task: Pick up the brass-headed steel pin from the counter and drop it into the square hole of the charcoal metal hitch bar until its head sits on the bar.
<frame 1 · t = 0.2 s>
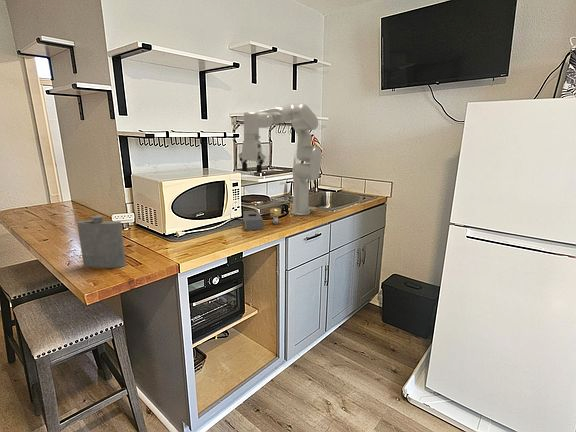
hand: (251, 171, 170), 30 cm above the worktop, tool pointing down, fingers open, 9 cm apart
pin: (275, 223, 187), on the worktop
hip flask: (104, 266, 127), on the worktop
hitch bar: (252, 224, 185), on the worktop
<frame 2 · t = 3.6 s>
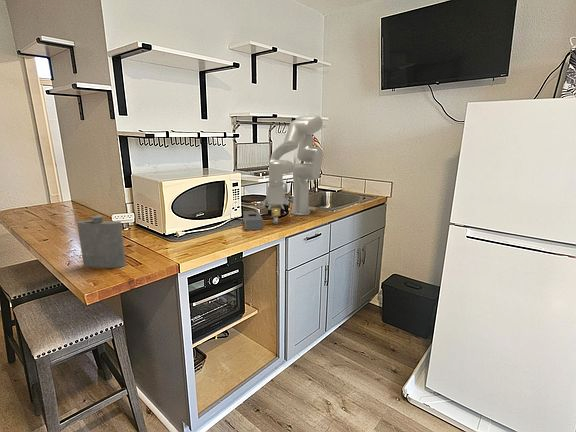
hand: (275, 215, 186), 5 cm above the worktop, tool pointing down, fingers closed on pin, 6 cm apart
pin: (275, 223, 187), on the worktop, touching gripper
everything else where it was.
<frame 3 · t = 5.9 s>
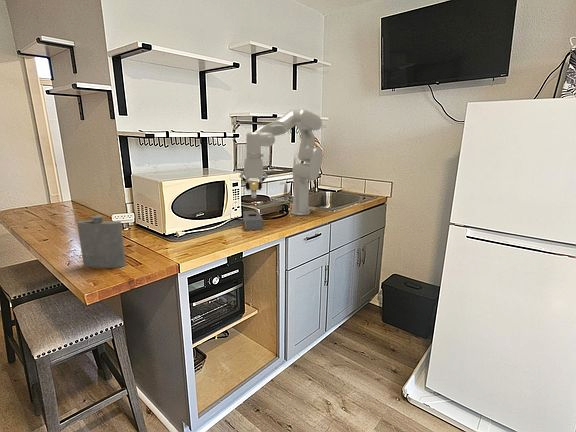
hand: (253, 189, 180), 20 cm above the worktop, tool pointing down, fingers closed on pin, 6 cm apart
pin: (253, 198, 181), point 15 cm above the worktop, touching gripper
everything else where it was.
when the fingers open (7 cm above the worktop, at t = 8.5 s): pin drops 1 cm, resting on hitch bar.
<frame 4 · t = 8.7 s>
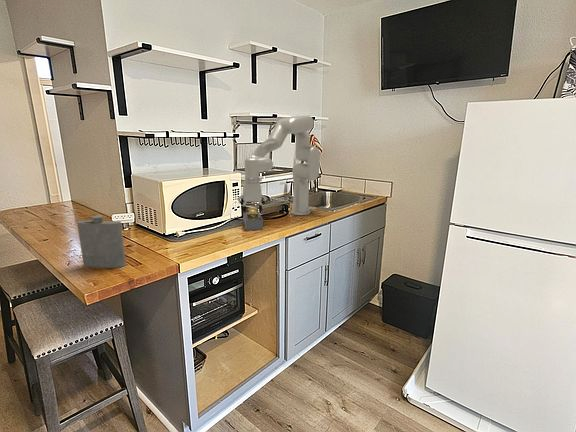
hand: (252, 212, 183), 7 cm above the worktop, tool pointing down, fingers open, 7 cm apart
pin: (252, 223, 185), resting on hitch bar
everything else where it was.
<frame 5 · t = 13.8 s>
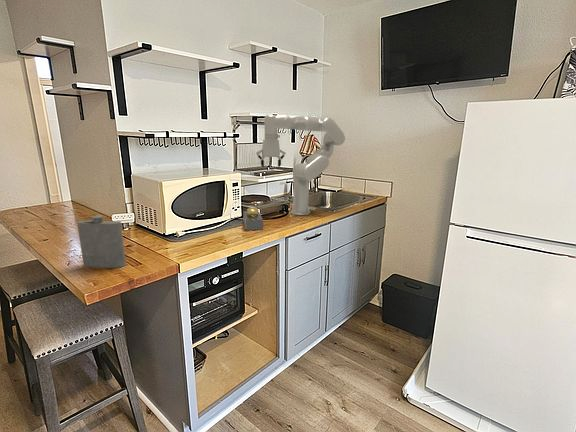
hand: (270, 166, 196), 30 cm above the worktop, tool pointing down, fingers open, 9 cm apart
nothing on the worktop moved.
at the end: pin 0.1 cm off-centre on the hitch bar, point 0.5 cm above the hitch bar's base; pin tilted 0°; the gripper is holding nothing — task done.
